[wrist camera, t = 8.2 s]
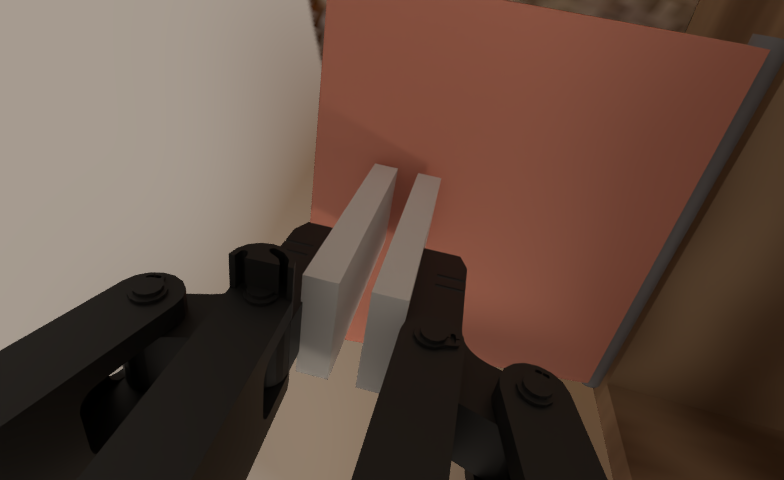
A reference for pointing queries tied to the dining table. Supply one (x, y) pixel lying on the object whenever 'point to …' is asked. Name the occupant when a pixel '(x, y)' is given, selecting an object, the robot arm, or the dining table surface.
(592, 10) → the dining table surface
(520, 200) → the panel
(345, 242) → the robot arm
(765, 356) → the wooden box
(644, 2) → the dining table surface
